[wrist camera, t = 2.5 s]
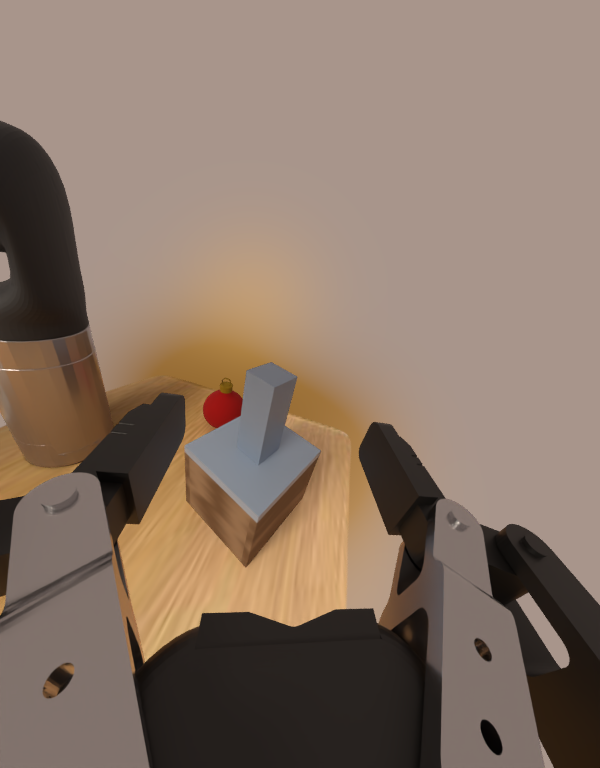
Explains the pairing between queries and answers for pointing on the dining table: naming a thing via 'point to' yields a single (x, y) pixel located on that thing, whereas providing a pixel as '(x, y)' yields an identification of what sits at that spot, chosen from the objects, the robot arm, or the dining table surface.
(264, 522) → the block
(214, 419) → the christmas ornament
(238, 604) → the dining table surface
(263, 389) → the lid
